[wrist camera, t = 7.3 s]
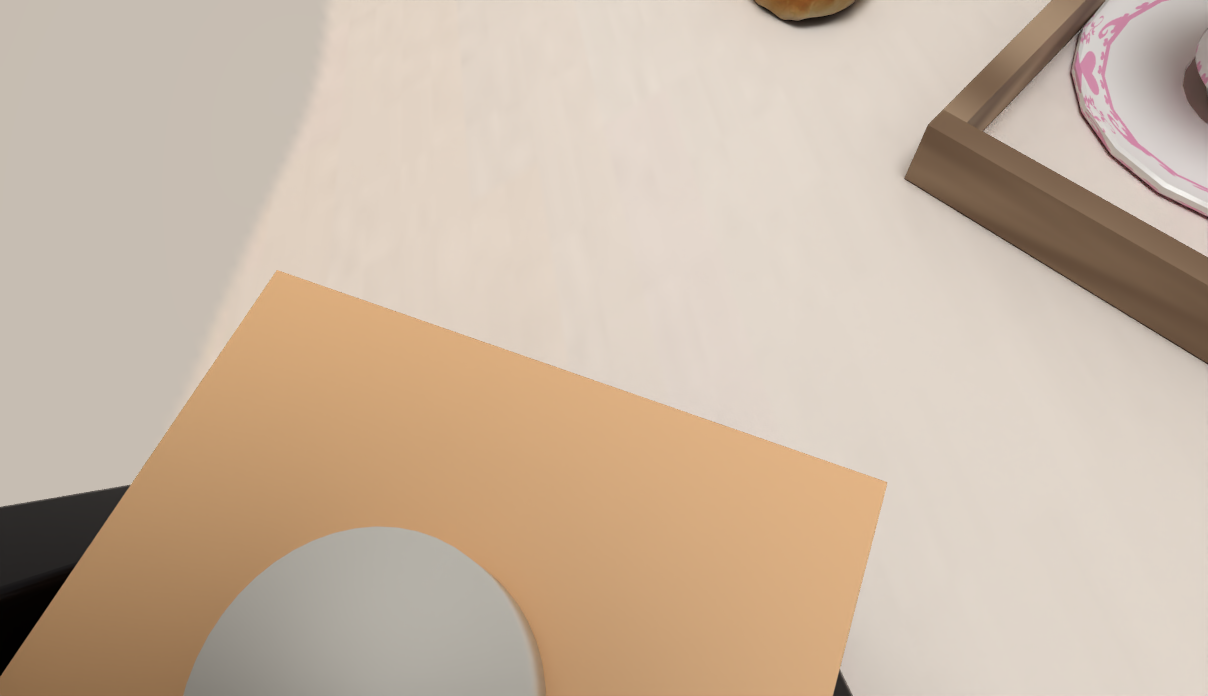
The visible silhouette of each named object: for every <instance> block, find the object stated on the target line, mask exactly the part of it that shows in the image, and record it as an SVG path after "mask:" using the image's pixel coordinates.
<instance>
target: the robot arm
mask: <svg viewBox="0 0 1208 696" xmlns="http://www.w3.org/2000/svg"><path fill="white" fill-rule="evenodd" d="M129 487H130V485H127V486H121V487H115V488H109V489H104V490H98V491H91V492H86V493H80V494H74V495H68V496H62V497H57V498H51V499H44V500H39V501H33V502H27V503H21V504H15V505H9V506H3V507H0V676H1V675H2V673H3V672H4V670H5V669H6V667H7V666H8V665H9V663H10V662H11V660H12V659H13V657H14V656H15V654H16V653H17V651H18V650H19V648H20V647H21V645H22V644H23V643H24V641H25V640H26V638H27V637H28V635H29V634H30V632H31V631H32V629H33V628H34V626H35V625H36V623H37V622H38V620H39V619H40V618H41V616H42V615H43V613H44V612H45V610H46V609H47V607H48V606H49V604H50V603H51V601H52V600H53V598H54V597H55V595H56V594H57V593H58V591H59V590H60V588H61V587H62V585H63V584H64V582H65V581H66V579H67V578H68V576H69V575H70V573H71V572H72V571H73V569H74V568H75V566H76V565H77V563H78V562H79V560H80V559H81V557H82V556H83V554H84V553H85V551H86V550H87V548H88V547H89V546H90V544H91V543H92V541H93V540H94V538H95V537H96V535H97V534H98V532H99V531H100V529H101V528H102V526H103V525H104V523H105V522H106V521H107V519H108V518H109V516H110V515H111V513H112V512H113V510H114V509H115V507H116V506H117V504H118V503H119V501H120V500H121V499H122V497H123V496H124V494H125V493H126V491H127V490H128V488H129ZM833 696H853V695H852V693H851V691H850V689H849V687H848V685H847V683H846V681H845V679H844V677H843V675H842V673H841V670H840V669H839V673H838V677H837V681H836V685H835V689H834V693H833Z"/></svg>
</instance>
